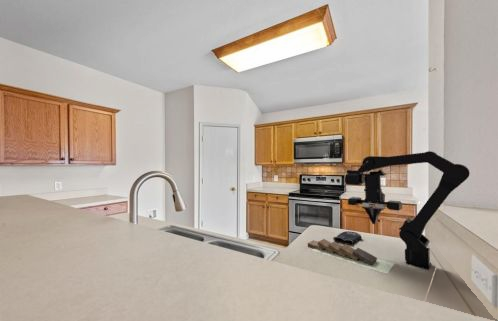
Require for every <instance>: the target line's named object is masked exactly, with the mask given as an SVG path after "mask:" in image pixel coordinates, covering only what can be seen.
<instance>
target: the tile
mask: <svg viewBox="0 0 498 321" xmlns="http://www.w3.org/2000/svg"><path fill="white" fill-rule="evenodd" d="M352 255H354V256H355V257H357V258H359V259H361V260H363V261H364V262H366V263H368V264H370V265H371V266H372V265H373V264H374V263H375V262H376V260H377V259H378V257H376V256H375V255H373V254H371V253H369V252H367V251H365V250H364V249H362V248H359V247H357V248H356V249H355V250H354V251H353V254H352Z"/></svg>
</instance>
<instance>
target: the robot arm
mask: <svg viewBox="0 0 498 321" xmlns="http://www.w3.org/2000/svg"><path fill="white" fill-rule="evenodd" d="M361 163H362V164H361V165H360V167H359V168H358V169H356V170H353V169H347V170H346V173H345V176H344V183H345V184H346V185H347V186H359V187H360V186H362V185H363V184H364V189H363V191H364V196H365V197H364V199H363V198H362V197H359V196H352V197H349V198H348V199H347V205H350V206H356V205H357V204H359V205H362V206H361V209H364V210H365V213H366V214H367V215H368V217H369V220H370V221H371V224H372V225H376V224H377V220H378V218H379V216H380V213H381V212H382V211H384V210H386V209H388V210H391V211H401V210H402V209H403V202H401V200H392V199H391V200H388V201H385V200H386V194H385V193H384V192H383V190H382V185H381V183H382V182H381V181H382V180H381V176H382V177H383V176H387V173H386V172H384V171H383V170H382V169H384V168H387V167H393V166H402V165H412V164H415V165H416V164H423V163H424V164H425V163H428V164H429V165H430V166H432V167H434V168H435V169H437V170H438V171H440V172H442V176H441V178H440V180H439V183H438V185H437V187H436V188H435V190H434V191H433V192H432V194H431V195H430V197H429V198H428V199H427V201H426V202H425V203H424V205H423V206H422V207H421V209H420V210H419V211H418V213H417V214H416V215H415V217H414V218H413V219H412V218H410V217H407V218H406V219H405V220H404V222H403V224H402V225H400V227H399V228H398V230H399V233H398V236H399V238H400V239H401V241H402V242H403V243H404V244H405V246H406V247H405V249H404V260H405V264H406V265H409V266H413V267H416V268H421V269H424V270H427V271H428V270H430V268H431V265H432V262H431V254H430V253H431V250H430V248H429V247H428V246H429V244H430V240H429V239H428V238H427V236H425V235H424V234H423V233H424V231H425V229H426V226H427V224H428V222H429V221H430V220H431V218H432V217H433V216H434V215H435V213H436V212H437V211H438V210H439V208H440V207H441V206H442V204H443V203H444V202H445V200H446V199H447V198H448V197H449V195H450V194H451V193H452V192H453V191H454V190H456V189H457V188H458V187H459V186H460V185H462V183H464V182H465V181H466V180H467V179H468V178H469V177H470V174H471V173H470V169H469V168H468V167H467V166H466V165H463V164H461V163H454V162H451V161H450V160H448V159H446V158H444V157H443V156H441V155H439V154H437V153H436V152H435V151H431V150H428V151H425V152H417V153H410V154H401V155H399V154H398V155H391V156H376V155H375V156H374V155H371V156H370V155H369V156H368V155H367V156H366V157H364V158H363V159H362V162H361ZM376 170H378V171H376Z"/></svg>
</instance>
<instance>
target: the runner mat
mask: <svg viewBox="0 0 498 321" xmlns="http://www.w3.org/2000/svg"><path fill="white" fill-rule="evenodd" d="M311 251H313V252H316V253H320V254H323V255H325V256H329V257H332V258H334V259H338V260H342V261H345V262H349V263H351V264H354V265H357V266H360V267H364V268H367V269H370V270H374V271H376V272H380V273H381V274H385V275H388V273H389V272H390V270H391V269H392V268H393V267H394V265H395V263H394V262H390V261H387V260H384V259H379V258H377V260H376V262H375V263H374V264H373V265H372V266H371V265H370V264H368V263H366V262H364V261H363V260H361V259H359V260H358V261H356V260H354V259H352V258H351V257H349V256H346V257H343V256H341V255H340V254H338V253H336V252H335V253H334V254H332V253H331V252H329V251H327V250H326V249H324V250H323V251H322V250H318V249H315V248H312V249H311Z"/></svg>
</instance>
